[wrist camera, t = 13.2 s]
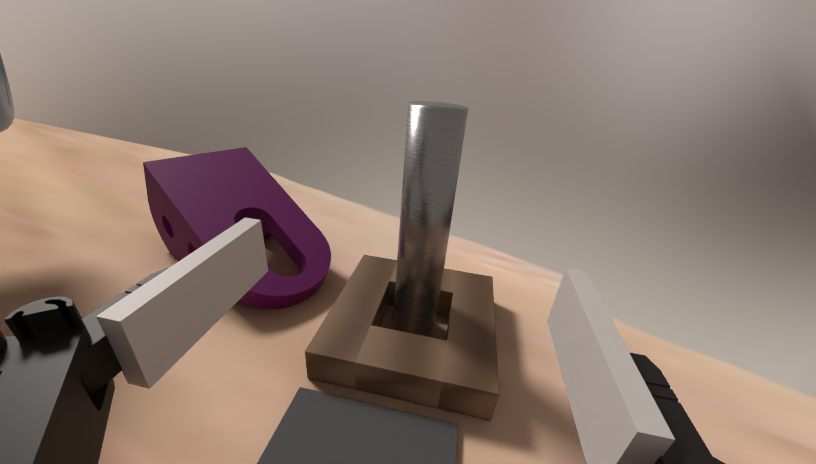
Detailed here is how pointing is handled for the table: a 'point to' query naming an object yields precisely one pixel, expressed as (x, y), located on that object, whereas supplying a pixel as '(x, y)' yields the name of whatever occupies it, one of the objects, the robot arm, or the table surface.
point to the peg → (426, 211)
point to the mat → (357, 434)
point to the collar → (411, 343)
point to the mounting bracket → (235, 217)
